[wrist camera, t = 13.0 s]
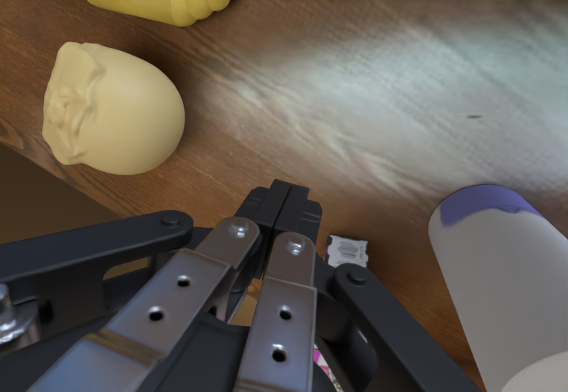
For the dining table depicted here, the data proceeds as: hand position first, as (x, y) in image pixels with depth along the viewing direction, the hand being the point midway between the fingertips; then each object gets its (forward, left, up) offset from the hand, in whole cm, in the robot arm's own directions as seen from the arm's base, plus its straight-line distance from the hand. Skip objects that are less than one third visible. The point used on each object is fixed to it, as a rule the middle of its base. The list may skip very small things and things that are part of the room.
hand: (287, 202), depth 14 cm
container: (+8, +19, -22) cm, 30 cm away
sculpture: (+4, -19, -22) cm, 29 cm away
